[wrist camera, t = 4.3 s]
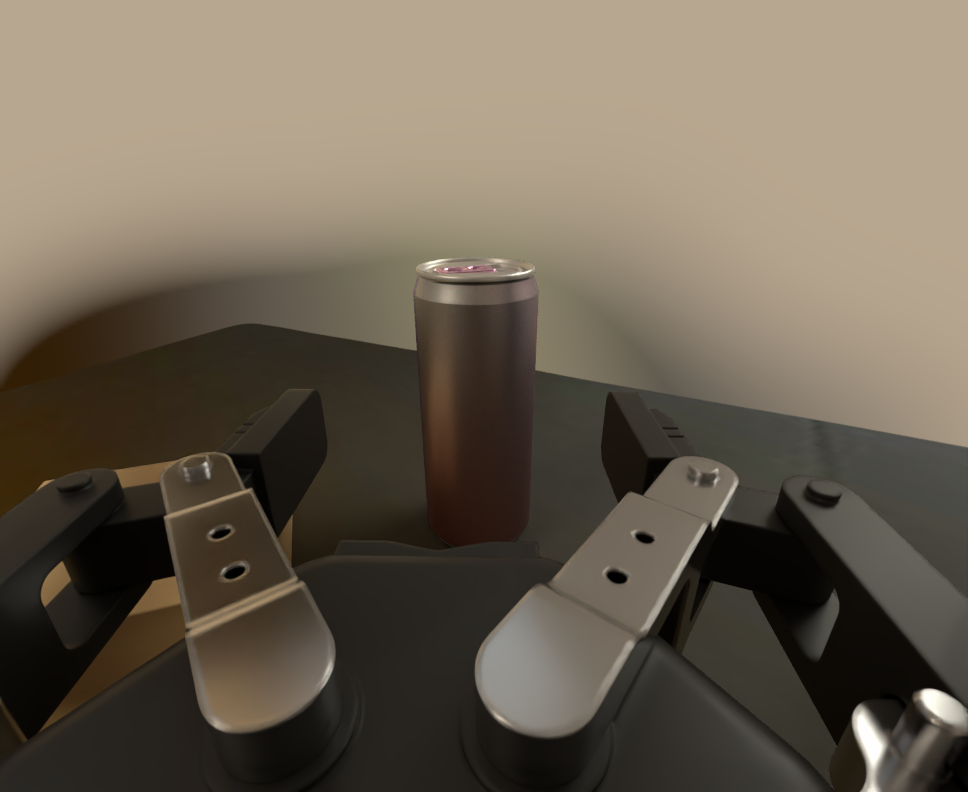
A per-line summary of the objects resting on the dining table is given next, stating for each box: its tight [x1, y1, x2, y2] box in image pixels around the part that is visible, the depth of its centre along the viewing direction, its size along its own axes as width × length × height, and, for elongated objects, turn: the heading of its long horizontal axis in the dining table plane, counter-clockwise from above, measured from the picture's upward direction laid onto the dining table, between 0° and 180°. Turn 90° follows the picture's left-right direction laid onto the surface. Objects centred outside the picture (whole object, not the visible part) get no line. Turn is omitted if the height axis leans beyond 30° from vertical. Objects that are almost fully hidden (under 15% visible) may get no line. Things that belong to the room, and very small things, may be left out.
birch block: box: [37, 461, 293, 733], centre depth 22 cm, size 11×11×5 cm
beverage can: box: [413, 257, 538, 548], centre depth 26 cm, size 6×6×15 cm
